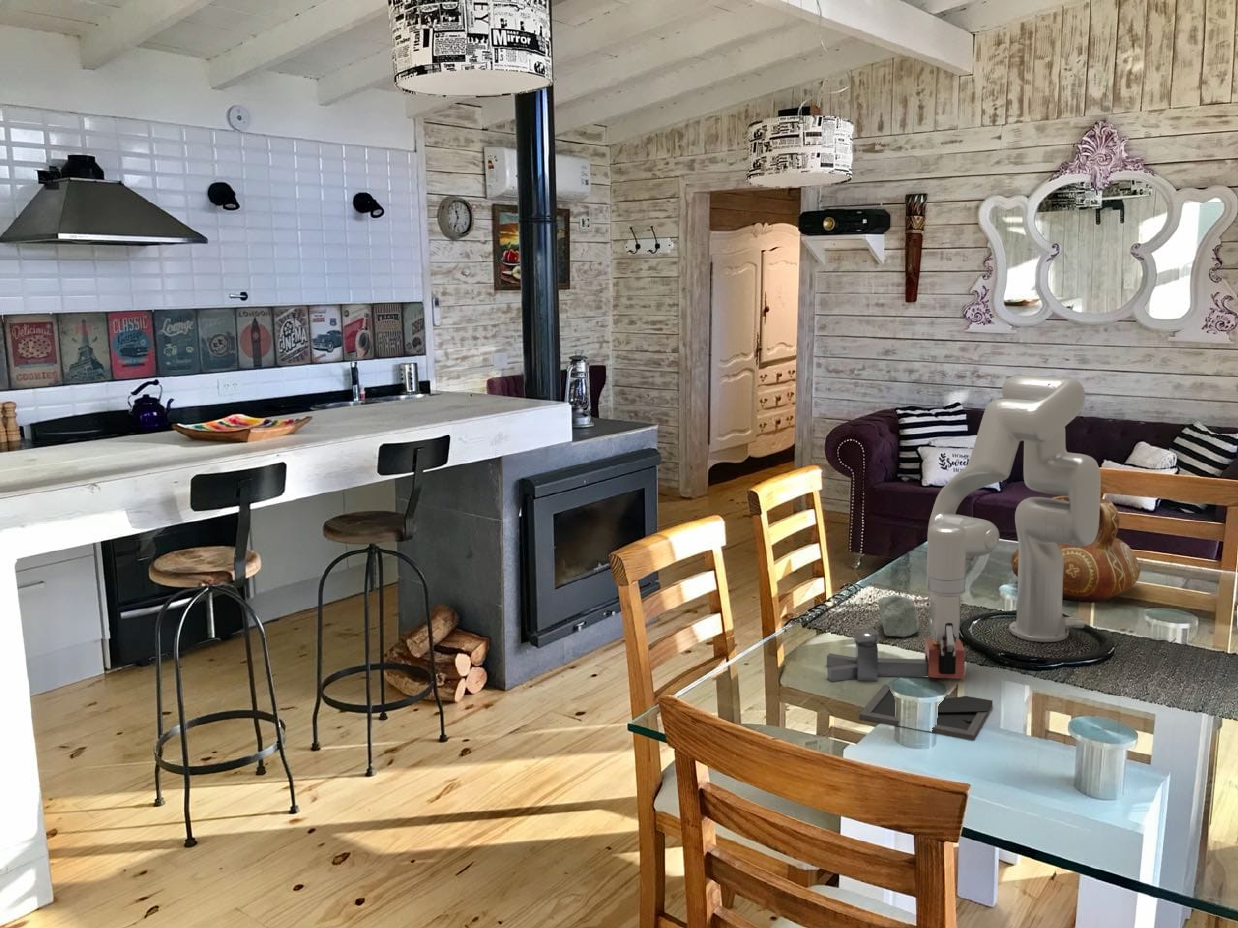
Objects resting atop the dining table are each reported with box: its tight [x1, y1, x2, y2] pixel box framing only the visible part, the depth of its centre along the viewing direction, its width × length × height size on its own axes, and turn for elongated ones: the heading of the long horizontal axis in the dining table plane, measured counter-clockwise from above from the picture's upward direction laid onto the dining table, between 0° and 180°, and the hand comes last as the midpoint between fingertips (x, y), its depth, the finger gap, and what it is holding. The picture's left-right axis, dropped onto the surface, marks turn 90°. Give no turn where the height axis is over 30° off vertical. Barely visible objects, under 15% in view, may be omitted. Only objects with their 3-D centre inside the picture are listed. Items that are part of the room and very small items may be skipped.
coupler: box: [826, 628, 928, 683], centre depth 218 cm, size 22×10×9 cm, turn 80°
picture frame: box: [858, 683, 994, 742], centre depth 199 cm, size 16×2×21 cm
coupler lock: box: [924, 638, 966, 679], centre depth 215 cm, size 7×6×7 cm
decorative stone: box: [877, 595, 920, 638], centre depth 243 cm, size 13×11×10 cm
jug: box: [1010, 495, 1141, 604], centre depth 265 cm, size 30×30×25 cm
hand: (944, 666), depth 216 cm, fingers closed on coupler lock, 6 cm apart
